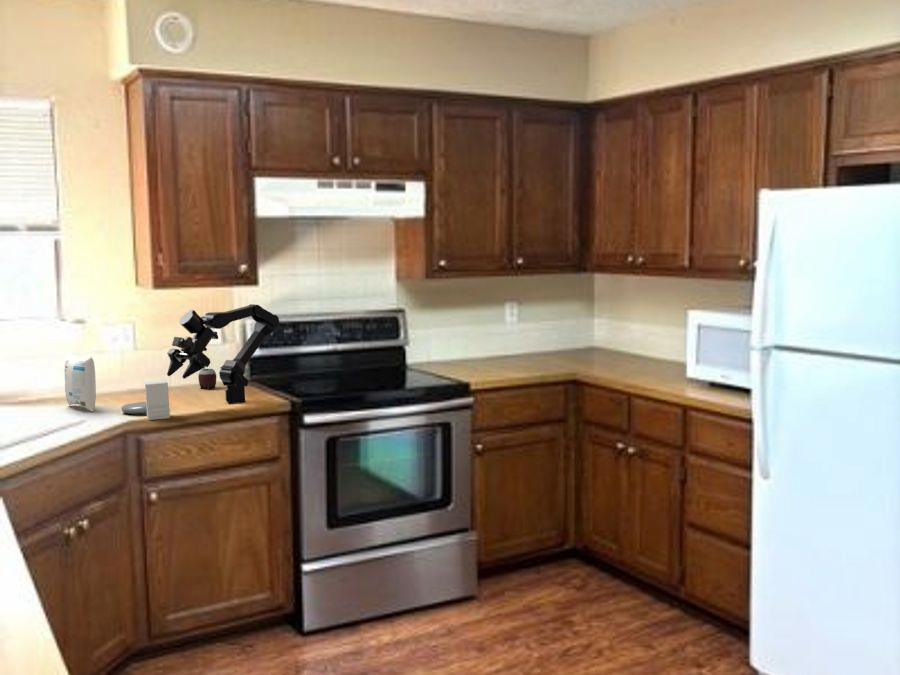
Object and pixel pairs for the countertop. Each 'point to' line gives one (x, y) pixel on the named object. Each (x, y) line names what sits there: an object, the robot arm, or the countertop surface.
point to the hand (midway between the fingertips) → (175, 376)
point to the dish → (135, 408)
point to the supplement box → (157, 399)
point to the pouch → (80, 381)
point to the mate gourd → (207, 378)
